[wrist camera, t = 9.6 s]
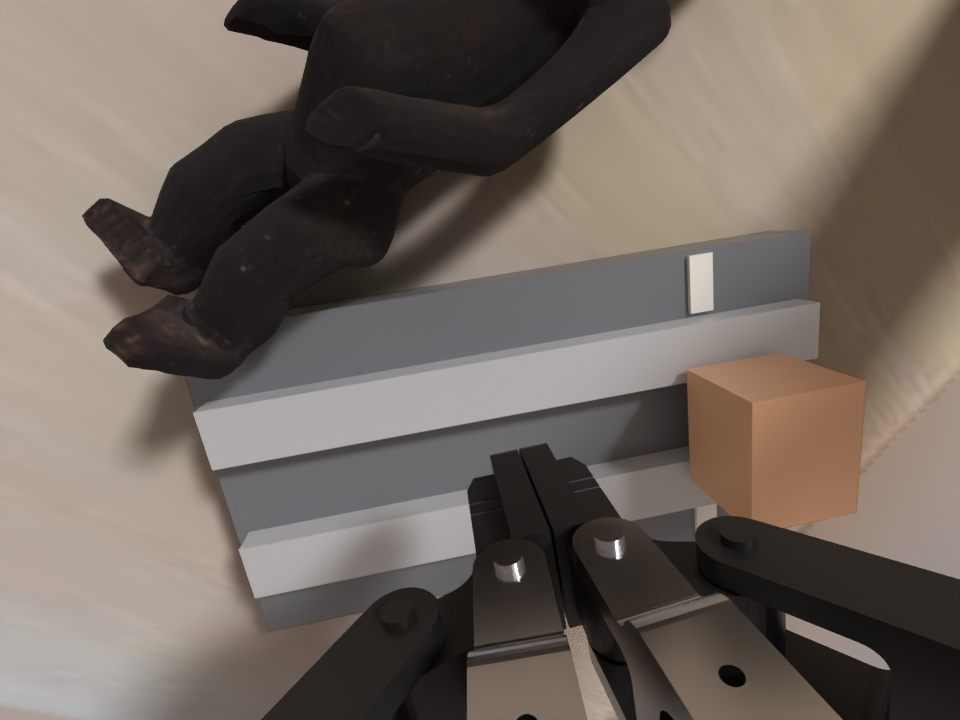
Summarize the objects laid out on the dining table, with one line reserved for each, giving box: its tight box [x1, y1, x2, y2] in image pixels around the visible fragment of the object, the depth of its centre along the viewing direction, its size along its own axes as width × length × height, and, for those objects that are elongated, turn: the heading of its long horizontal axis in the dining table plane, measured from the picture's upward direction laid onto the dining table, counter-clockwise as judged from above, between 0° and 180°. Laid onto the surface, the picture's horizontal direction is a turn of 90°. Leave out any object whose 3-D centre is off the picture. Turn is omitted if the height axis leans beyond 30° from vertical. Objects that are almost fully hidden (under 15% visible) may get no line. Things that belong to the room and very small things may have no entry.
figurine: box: [82, 0, 671, 379], centre depth 16 cm, size 8×30×8 cm, turn 126°
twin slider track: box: [185, 231, 820, 632], centre depth 22 cm, size 26×14×4 cm, turn 99°
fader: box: [687, 352, 866, 528], centre depth 19 cm, size 4×5×5 cm
